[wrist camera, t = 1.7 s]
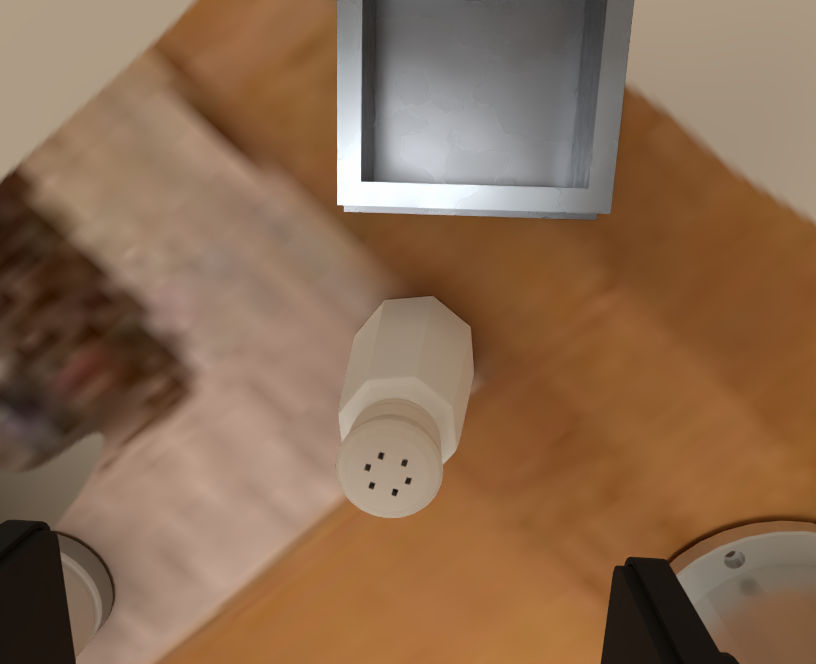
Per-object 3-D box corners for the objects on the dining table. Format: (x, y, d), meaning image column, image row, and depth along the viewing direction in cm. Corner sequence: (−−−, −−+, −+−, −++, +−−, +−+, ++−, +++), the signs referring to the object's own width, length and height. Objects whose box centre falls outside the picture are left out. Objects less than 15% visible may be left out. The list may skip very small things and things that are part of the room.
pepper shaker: (494, 314, 25) (525, 411, 14) (454, 427, 26) (456, 592, 16) (372, 276, 25) (312, 344, 14) (338, 391, 26) (261, 532, 16)
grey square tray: (622, -64, 21) (661, -120, 17) (593, 218, 24) (621, 226, 20) (347, -65, 22) (323, -119, 18) (346, 210, 24) (326, 216, 20)
